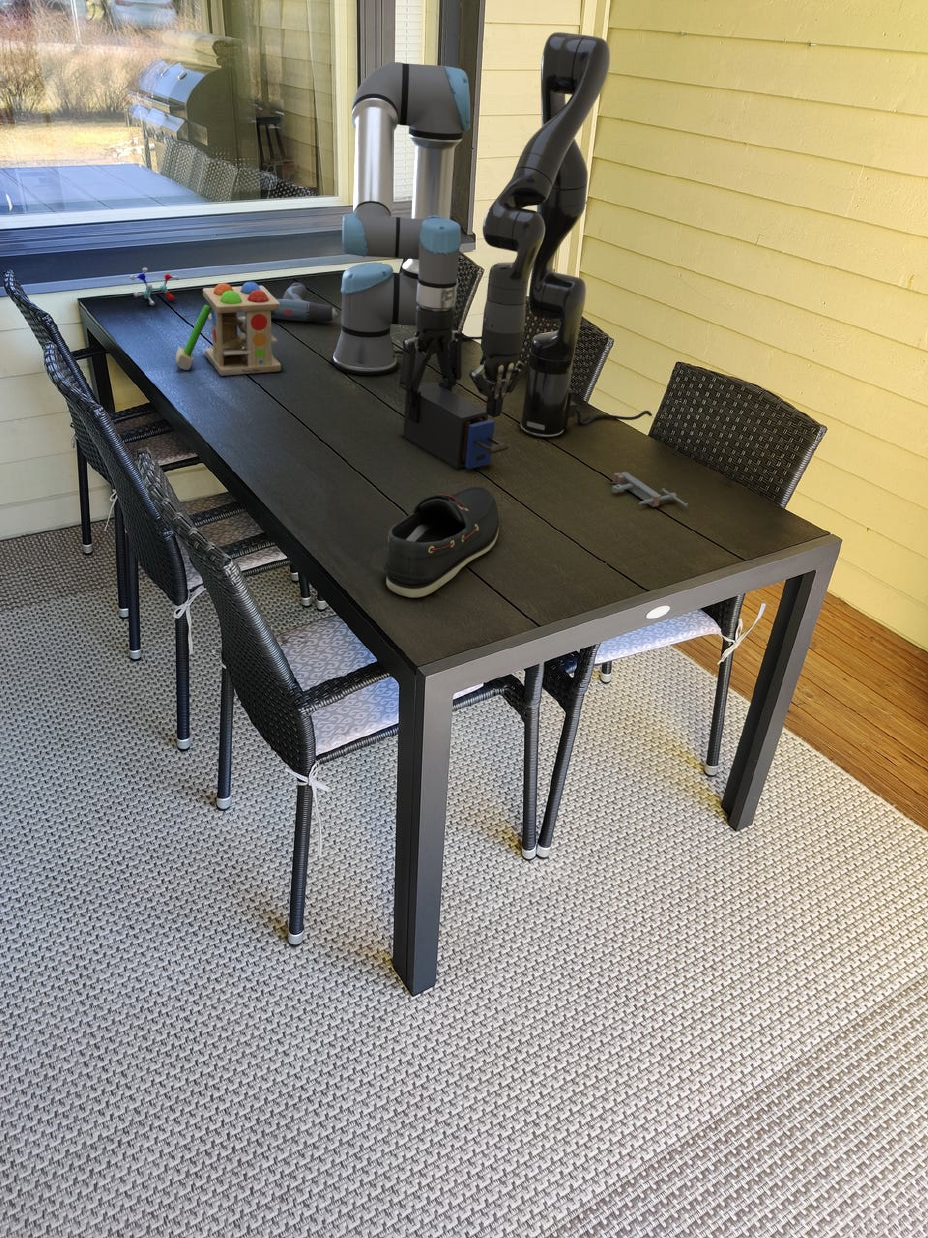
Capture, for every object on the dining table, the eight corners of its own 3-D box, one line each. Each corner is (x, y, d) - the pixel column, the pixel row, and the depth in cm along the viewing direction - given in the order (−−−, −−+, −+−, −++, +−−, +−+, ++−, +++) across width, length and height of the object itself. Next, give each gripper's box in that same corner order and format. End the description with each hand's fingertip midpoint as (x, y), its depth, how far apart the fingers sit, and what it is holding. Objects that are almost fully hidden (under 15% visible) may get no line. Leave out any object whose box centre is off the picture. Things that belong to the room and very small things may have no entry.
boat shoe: (525, 530, 177) (530, 477, 171) (421, 604, 153) (423, 545, 147) (465, 510, 182) (468, 458, 177) (355, 579, 158) (355, 521, 153)
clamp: (601, 475, 192) (641, 467, 197) (599, 485, 194) (639, 477, 198) (649, 509, 182) (690, 500, 186) (647, 519, 183) (688, 510, 188)
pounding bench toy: (183, 379, 220) (176, 299, 210) (169, 357, 231) (162, 280, 221) (282, 371, 230) (280, 294, 220) (264, 350, 240) (262, 276, 230)
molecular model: (162, 296, 256) (148, 259, 255) (134, 310, 260) (120, 273, 259) (187, 299, 267) (174, 263, 265) (160, 312, 270) (147, 276, 269)
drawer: (507, 473, 193) (512, 430, 188) (485, 479, 190) (490, 436, 185) (438, 433, 206) (441, 392, 201) (417, 438, 203) (419, 397, 198)
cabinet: (483, 461, 198) (488, 411, 192) (457, 469, 195) (461, 417, 188) (428, 430, 209) (432, 381, 203) (403, 436, 205) (405, 386, 199)
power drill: (344, 304, 276) (335, 327, 259) (277, 298, 275) (264, 321, 258) (344, 285, 273) (335, 306, 256) (277, 279, 272) (264, 300, 255)
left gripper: (406, 317, 182) (400, 433, 194) (486, 304, 193) (476, 414, 206) (382, 306, 186) (378, 419, 199) (462, 293, 197) (453, 402, 210)
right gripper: (489, 335, 171) (480, 429, 180) (544, 325, 178) (532, 415, 188) (462, 323, 175) (454, 414, 185) (516, 314, 183) (506, 402, 192)
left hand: (428, 416), depth 202 cm, fingers closed on cabinet, 7 cm apart
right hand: (493, 415), depth 186 cm, fingers closed
